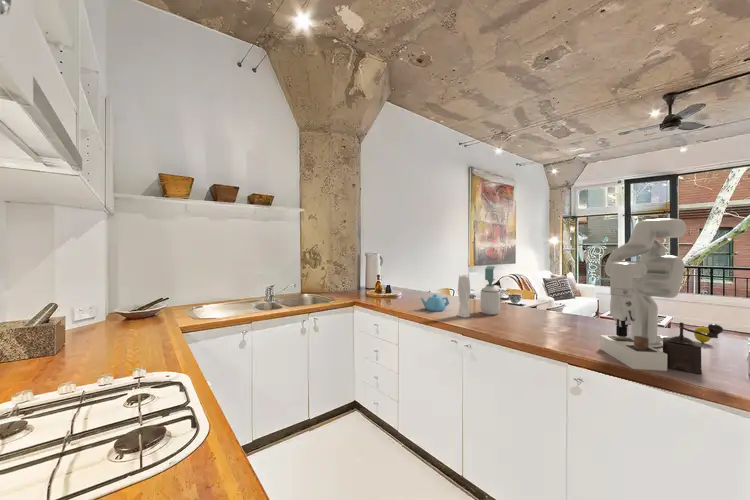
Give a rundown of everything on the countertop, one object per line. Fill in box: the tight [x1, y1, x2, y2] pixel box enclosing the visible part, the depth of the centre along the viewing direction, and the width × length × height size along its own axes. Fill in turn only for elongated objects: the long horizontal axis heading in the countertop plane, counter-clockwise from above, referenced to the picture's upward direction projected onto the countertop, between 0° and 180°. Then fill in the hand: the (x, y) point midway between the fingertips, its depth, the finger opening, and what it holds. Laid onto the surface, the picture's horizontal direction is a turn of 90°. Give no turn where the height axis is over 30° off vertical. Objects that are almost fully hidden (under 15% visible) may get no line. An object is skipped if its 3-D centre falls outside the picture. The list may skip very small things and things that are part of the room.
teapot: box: [420, 293, 450, 312], centre depth 226 cm, size 15×15×11 cm
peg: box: [634, 336, 649, 350], centre depth 121 cm, size 4×4×6 cm
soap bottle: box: [480, 265, 501, 316], centre depth 213 cm, size 12×12×31 cm
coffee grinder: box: [662, 321, 724, 375], centre depth 118 cm, size 16×11×18 cm
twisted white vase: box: [455, 272, 473, 319], centre depth 203 cm, size 8×8×28 cm
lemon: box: [693, 325, 712, 344], centre depth 148 cm, size 6×6×8 cm
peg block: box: [599, 334, 668, 372], centre depth 128 cm, size 11×23×6 cm, turn 170°
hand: (621, 335), depth 135 cm, fingers closed
